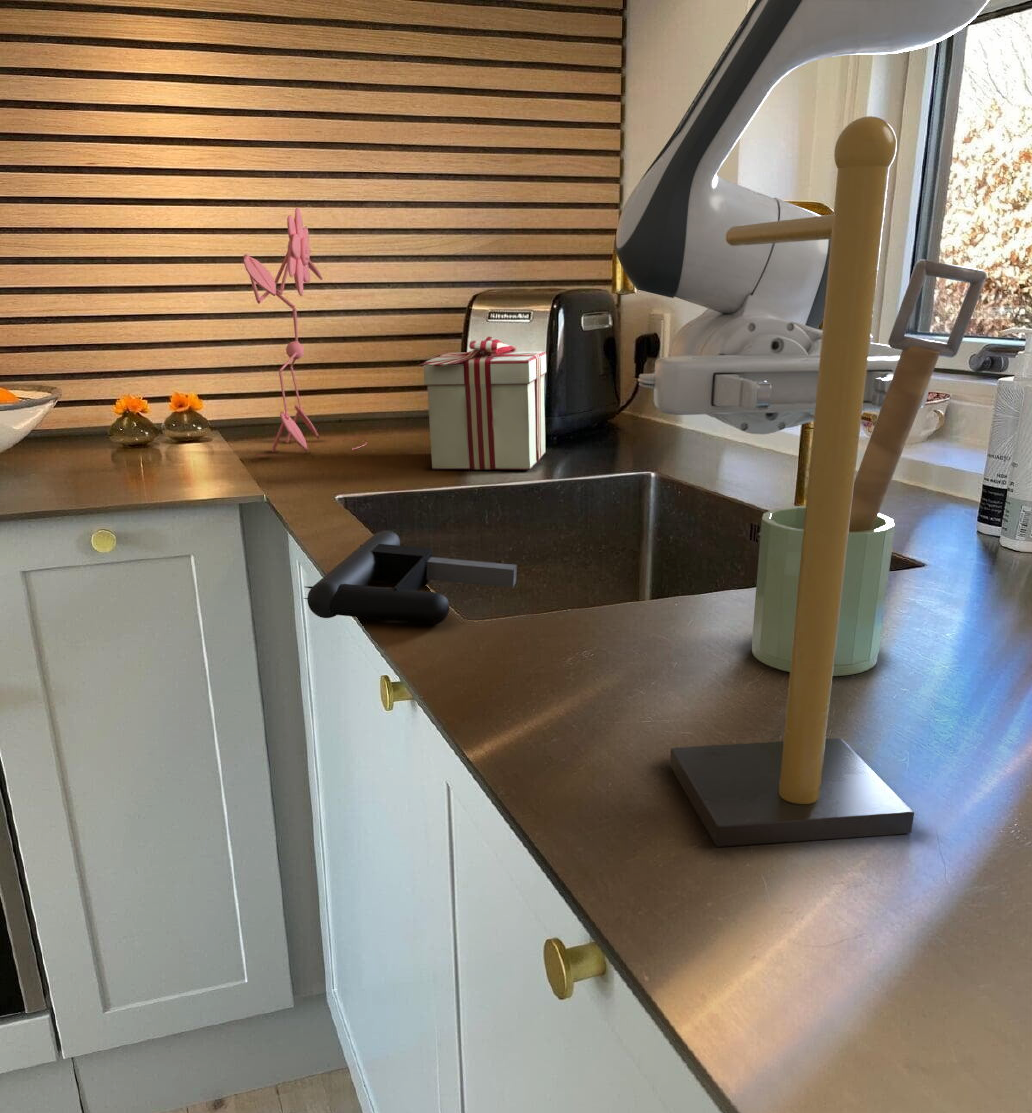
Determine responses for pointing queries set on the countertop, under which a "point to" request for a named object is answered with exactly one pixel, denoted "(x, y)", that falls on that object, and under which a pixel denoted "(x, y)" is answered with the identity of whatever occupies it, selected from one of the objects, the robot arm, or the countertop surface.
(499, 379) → the gift box
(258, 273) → the figurine
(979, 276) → the square loop wand
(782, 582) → the crock
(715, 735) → the countertop surface
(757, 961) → the countertop surface
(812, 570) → the stand
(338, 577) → the black frame with bar
